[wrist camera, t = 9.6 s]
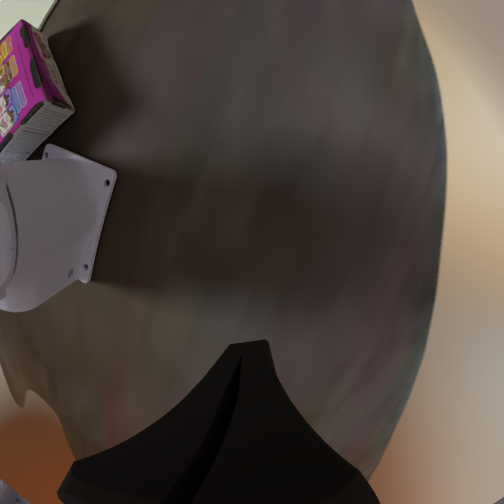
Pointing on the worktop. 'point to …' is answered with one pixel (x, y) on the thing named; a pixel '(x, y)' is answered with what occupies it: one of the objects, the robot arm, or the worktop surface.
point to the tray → (24, 13)
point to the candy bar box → (29, 93)
